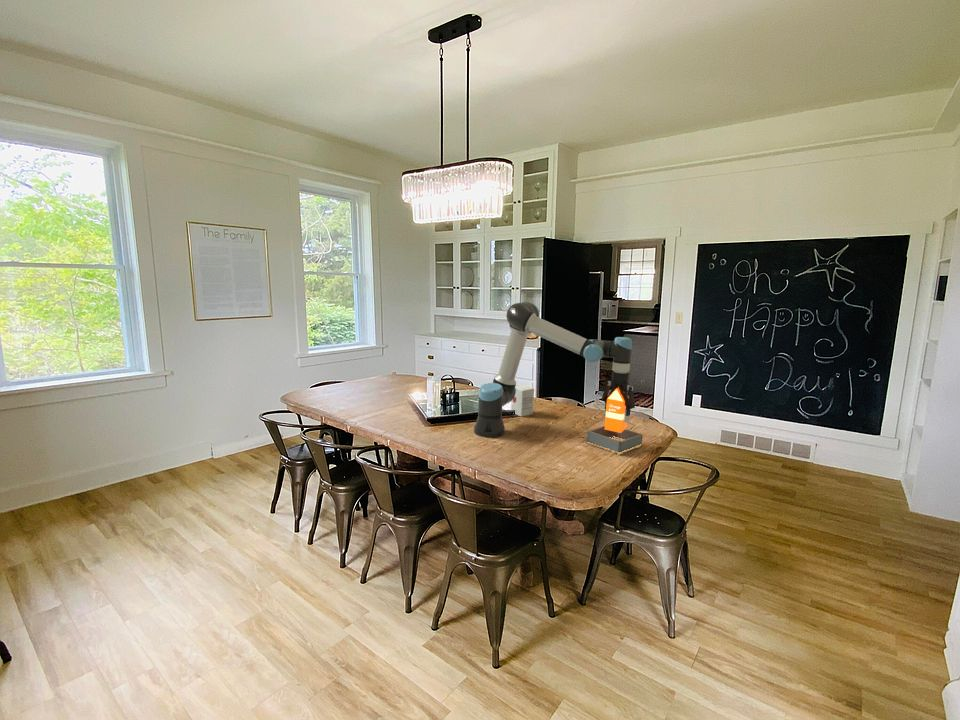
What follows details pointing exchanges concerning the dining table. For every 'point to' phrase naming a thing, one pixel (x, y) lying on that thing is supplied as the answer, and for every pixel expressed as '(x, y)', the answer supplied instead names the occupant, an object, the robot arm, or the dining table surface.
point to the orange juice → (615, 412)
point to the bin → (602, 439)
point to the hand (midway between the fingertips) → (616, 419)
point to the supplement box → (523, 401)
